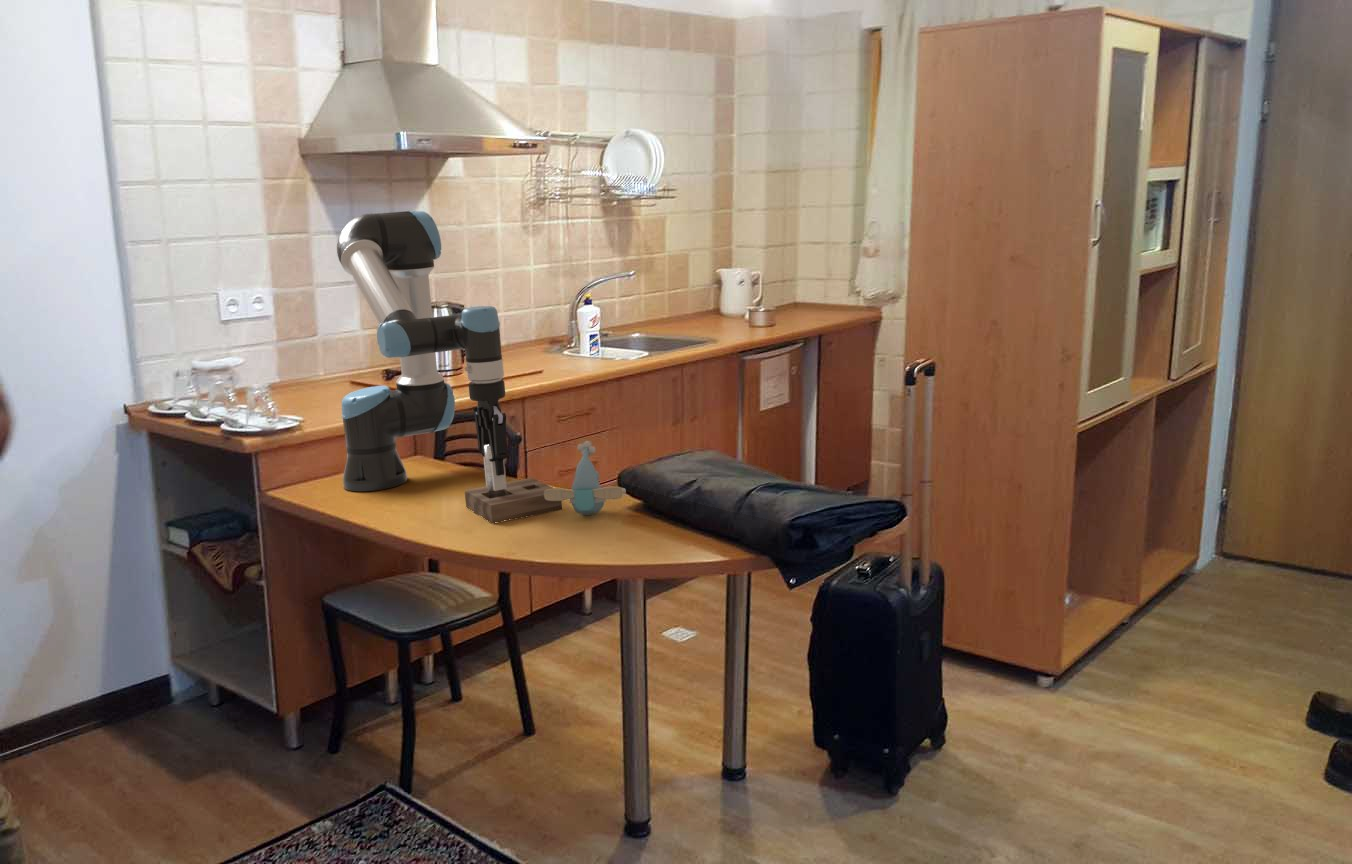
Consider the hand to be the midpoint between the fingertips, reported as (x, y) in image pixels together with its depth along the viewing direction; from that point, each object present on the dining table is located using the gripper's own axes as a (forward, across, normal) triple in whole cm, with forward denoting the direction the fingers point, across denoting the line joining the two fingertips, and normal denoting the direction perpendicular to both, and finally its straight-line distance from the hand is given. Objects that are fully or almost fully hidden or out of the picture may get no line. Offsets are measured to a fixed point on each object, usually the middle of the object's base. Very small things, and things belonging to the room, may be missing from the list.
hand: (496, 487), depth 239 cm
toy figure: (+6, +15, +14) cm, 22 cm away
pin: (+5, 0, 0) cm, 5 cm away
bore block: (+6, 0, +4) cm, 7 cm away
